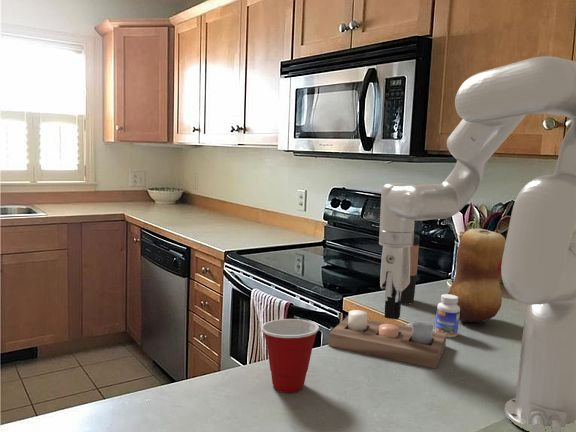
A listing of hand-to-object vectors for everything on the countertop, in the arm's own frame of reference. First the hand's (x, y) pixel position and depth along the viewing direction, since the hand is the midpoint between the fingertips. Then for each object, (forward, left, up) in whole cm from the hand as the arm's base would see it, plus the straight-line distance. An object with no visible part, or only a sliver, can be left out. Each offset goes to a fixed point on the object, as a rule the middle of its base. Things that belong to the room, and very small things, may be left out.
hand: (392, 317), depth 118 cm
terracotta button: (0, +1, -6) cm, 7 cm away
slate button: (0, -7, -5) cm, 8 cm away
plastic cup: (-29, +13, -7) cm, 33 cm away
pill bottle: (+16, -10, -7) cm, 20 cm away
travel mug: (+38, +6, -7) cm, 39 cm away
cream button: (0, +8, -4) cm, 9 cm away
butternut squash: (+30, -15, -7) cm, 34 cm away
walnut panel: (0, +1, -7) cm, 7 cm away
